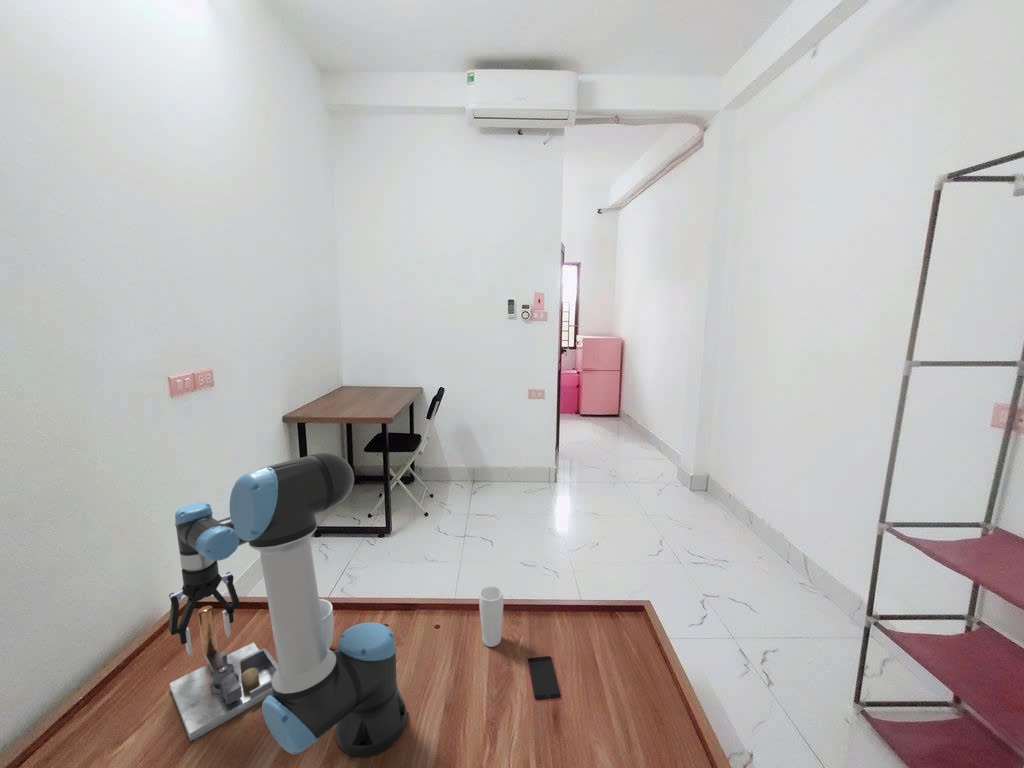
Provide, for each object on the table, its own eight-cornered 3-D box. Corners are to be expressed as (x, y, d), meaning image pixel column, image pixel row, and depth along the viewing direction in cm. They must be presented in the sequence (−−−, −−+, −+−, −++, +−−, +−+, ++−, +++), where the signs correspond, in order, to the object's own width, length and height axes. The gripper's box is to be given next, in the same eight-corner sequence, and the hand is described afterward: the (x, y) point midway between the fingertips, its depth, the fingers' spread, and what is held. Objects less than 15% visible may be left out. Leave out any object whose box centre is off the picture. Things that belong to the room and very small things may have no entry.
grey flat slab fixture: (281, 689, 112) (279, 667, 111) (190, 741, 98) (187, 717, 97) (254, 648, 125) (252, 629, 124) (170, 690, 112) (167, 668, 111)
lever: (245, 695, 107) (239, 643, 104) (224, 706, 103) (217, 654, 101) (218, 648, 121) (213, 603, 119) (199, 657, 118) (193, 610, 116)
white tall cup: (508, 638, 129) (507, 590, 127) (494, 653, 123) (494, 603, 121) (488, 629, 133) (488, 583, 130) (475, 643, 127) (474, 595, 125)
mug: (343, 668, 118) (340, 623, 116) (297, 687, 112) (293, 640, 110) (331, 634, 131) (328, 593, 129) (289, 650, 125) (285, 607, 123)
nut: (261, 684, 111) (260, 672, 110) (245, 693, 108) (244, 682, 108) (256, 676, 113) (254, 665, 112) (240, 685, 110) (238, 674, 110)
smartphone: (534, 701, 108) (526, 657, 122) (534, 703, 108) (526, 659, 122) (562, 698, 109) (551, 655, 122) (562, 700, 109) (551, 657, 122)
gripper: (240, 543, 125) (248, 617, 128) (145, 575, 110) (157, 658, 113) (249, 552, 120) (257, 629, 123) (151, 587, 105) (163, 674, 108)
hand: (209, 643), depth 118 cm, fingers open, 8 cm apart
